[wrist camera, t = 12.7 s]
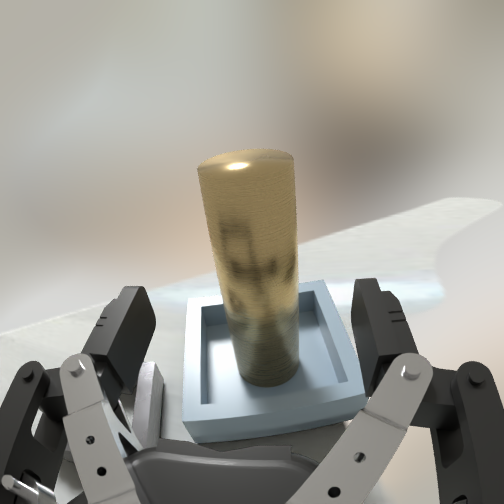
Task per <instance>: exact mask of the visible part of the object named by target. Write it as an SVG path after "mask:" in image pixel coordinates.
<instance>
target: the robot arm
mask: <svg viewBox="0 0 504 504" xmlns="http://www.w3.org/2000/svg"><path fill="white" fill-rule="evenodd" d="M351 323H352V329H353V334H354V338H355V343H356V348H357V353H358V358H359V363H360V369H361V374H362V379H363V385H364V391H365V396H366V397H371V398H370V400H369V402H368V403H367V404H366V406H365V407H364V408H363V409H361V410H360V411H359V412H358V413H357V415H356V416H355V417H354V419H353V420H352V422H351V423H350V425H349V426H348V427H347V429H346V430H345V432H344V433H343V434H342V436H341V437H340V438H339V440H338V441H337V442H336V444H335V445H334V446H333V448H332V449H331V450H330V452H329V453H328V454H327V456H326V457H325V458H324V459H323V461H322V462H321V463H320V464H319V463H318V462H316V461H314V460H312V459H310V458H308V457H305V456H302V455H299V454H294V453H291V445H277V446H258V445H257V446H252V447H247V448H242V449H236V450H231V451H225V452H220V451H216V450H213V449H210V448H206V447H203V446H200V445H197V444H194V443H192V442H188V441H179V440H170V439H163V438H159V440H158V444H157V446H153V447H149V448H145V449H144V448H143V447H142V445H141V444H140V443H139V441H138V439H137V438H136V436H135V433H134V431H133V429H132V427H131V424H130V422H129V420H128V418H127V415H126V413H125V411H124V408H123V406H122V403H121V401H120V400H119V397H120V395H121V393H125V394H132V392H133V389H134V386H135V383H136V380H137V378H138V375H139V372H140V369H141V366H142V363H143V361H144V358H145V355H146V352H147V349H148V347H149V344H150V341H151V339H152V336H153V333H154V331H155V327H156V318H155V314H154V311H153V308H152V306H151V303H150V301H149V298H148V295H147V292H146V290H145V288H144V287H143V286H125V287H124V288H123V289H122V291H121V293H120V295H119V296H118V298H117V299H113V300H112V301H111V302H110V303H109V304H108V305H107V306H106V307H105V308H104V310H103V312H102V314H101V316H100V319H98V321H97V323H96V326H95V327H94V329H93V330H92V332H91V334H90V336H89V338H88V340H87V342H86V344H85V346H84V348H83V350H82V352H81V354H75V355H72V356H70V357H69V358H67V359H66V360H65V361H64V362H63V364H62V365H61V368H55V369H48V370H45V369H44V368H43V366H42V365H41V364H40V363H39V362H37V361H30V362H27V363H26V364H24V365H23V366H22V367H21V368H20V369H19V370H18V372H17V374H16V376H15V378H14V380H13V382H12V384H11V386H10V388H9V390H8V392H7V394H6V396H5V398H4V401H3V403H2V405H1V407H0V504H58V503H57V502H56V497H55V495H54V493H53V492H54V488H55V484H56V481H57V477H58V473H59V470H60V466H61V463H62V459H63V456H64V452H65V449H66V446H67V442H69V446H70V449H71V453H72V456H73V460H74V463H75V466H76V469H77V472H78V475H79V478H80V481H81V484H82V487H83V489H84V491H83V492H82V493H81V494H79V495H78V496H77V497H75V498H74V499H73V500H71V501H70V502H68V503H67V504H362V503H363V501H364V500H365V499H366V497H367V496H368V494H369V493H370V491H371V490H372V488H373V487H374V486H375V484H376V483H377V481H378V479H379V478H380V476H381V475H382V473H383V472H384V470H385V468H386V467H387V465H388V463H389V462H390V460H391V459H392V457H393V455H394V454H395V452H396V450H397V449H398V447H399V445H400V443H401V442H402V440H403V438H404V436H405V434H406V432H407V428H408V427H409V425H410V426H418V427H425V428H430V432H431V437H432V444H433V450H434V457H435V464H436V472H437V480H438V488H439V499H440V504H504V409H503V405H502V402H501V399H500V396H499V393H498V390H497V387H496V385H495V382H494V379H493V376H492V374H491V372H490V370H489V369H488V368H487V367H486V366H484V365H483V364H482V363H479V362H475V361H469V362H466V363H464V364H462V365H461V366H460V367H459V369H458V370H457V371H454V370H446V369H439V368H435V367H433V366H431V364H430V362H429V361H428V360H427V359H426V358H424V357H423V356H421V355H419V353H418V350H417V347H416V345H415V342H414V339H413V336H412V333H411V331H410V328H409V325H408V323H407V321H406V317H405V315H404V312H403V310H402V307H401V305H400V302H399V300H398V299H397V298H396V297H395V296H394V295H393V294H392V293H391V292H390V291H381V290H380V287H379V284H378V282H377V279H376V278H366V279H356V280H355V284H354V292H353V300H352V308H351ZM38 409H40V410H41V411H42V412H43V413H42V416H41V419H40V421H39V424H38V427H37V429H36V432H35V435H34V437H33V435H32V432H31V427H32V424H33V421H34V419H35V416H36V414H37V411H38Z"/></svg>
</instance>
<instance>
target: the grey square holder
mask: <svg viewBox="0 0 504 504" xmlns="http://www.w3.org/2000/svg"><path fill="white" fill-rule="evenodd" d="M163 380H164V379H163V377H162V375H161V373H160V371H159V369H158V367H157V365H156V363H155V362H144V361H143V363H142V366H141V369H140V372H139V375H138V378H137V380H136V383H135V386H137V391H136V398H135V406H134V414H133V422H132V429H133V431H134V433H135V436H136V438H137V439H138V441H139V443H140V444H141V445H142V447H143V448H144V449H145V448H149V447H153V446H157V444H158V440H159V436H160V420H161V405H162V392H163ZM63 458H64V459H66V460H67V461H69V462H74V460H73V456H72V453H71V449H70V446H69V442H67V446H66V449H65V452H64V456H63Z"/></svg>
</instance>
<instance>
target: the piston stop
mask: <svg viewBox="0 0 504 504" xmlns="http://www.w3.org/2000/svg"><path fill="white" fill-rule="evenodd" d="M198 176H199V182H200V187H201V193H202V198H203V203H204V209H205V215H206V220H207V225H208V231H209V235H210V240H211V246H212V251H213V256H214V261H215V266H216V271H217V276H218V281H219V286H220V290H221V295H222V300H223V305H224V309H225V314H226V319H227V323H228V328H229V332H230V337H231V341H232V346H233V350H234V355H235V359H236V363H237V368H238V371H239V374H240V375H241V377H242V378H243V379H244V380H245V381H247V382H248V383H250V384H252V385H254V386H258V387H264V388H269V387H275V386H279V385H282V384H284V383H286V382H287V381H289V380H290V379H291V378H292V377H293V376H294V375H295V373H296V372H297V370H298V367H299V285H298V246H297V220H296V196H295V177H294V159H293V157H292V156H291V155H290V154H288V153H286V152H283V151H279V150H272V149H247V150H239V151H233V152H228V153H224V154H221V155H217V156H215V157H212V158H210V159H208V160H206V161H204V162H203V163H201V164H200V165H199V167H198Z"/></svg>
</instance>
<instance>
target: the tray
mask: <svg viewBox="0 0 504 504" xmlns="http://www.w3.org/2000/svg"><path fill="white" fill-rule="evenodd" d="M298 285H299V367H298V370H297V372H296V373H295V375H294V376H293V377H292V378H291V379H290V380H289V381H287V382H286V383H284V384H282V385H279V386H275V387H269V388H264V387H258V386H254V385H252V384H250V383H248V382H247V381H245V380H244V379H243V378H242V377H241V375H240V374H239V371H238V368H237V363H236V359H235V355H234V350H233V346H232V341H231V337H230V332H229V328H228V323H227V319H226V314H225V309H224V305H223V300H222V295H216V296H209V297H201V298H193V299H188V306H187V320H186V337H185V355H184V377H183V407H182V422H183V424H184V425H185V427H186V429H187V430H188V432H189V434H190V435H191V437H192V438H193V440H194V441H195V443H210V442H222V441H233V440H242V439H250V438H258V437H265V436H272V435H279V434H285V433H291V432H296V431H302V430H307V429H312V428H317V427H321V426H326V425H331V424H335V423H339V422H343V421H347V420H351V419H354V417H355V416H356V415H357V413H358V412H359V411H360V410H361V409H363V408H364V407H365V406H366V404H367V402H368V399H369V397H366V396H365V391H364V385H363V379H362V374H361V369H360V363H359V360H358V358H357V355H356V353H355V351H354V348H353V346H352V343H351V341H350V339H349V336H348V334H347V332H346V329H345V327H344V325H343V323H342V320H341V318H340V316H339V313H338V311H337V309H336V307H335V304H334V302H333V300H332V298H331V295H330V293H329V291H328V289H327V286H326V284H325V282H324V280H318V281H312V282H306V283H299V284H298Z"/></svg>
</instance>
